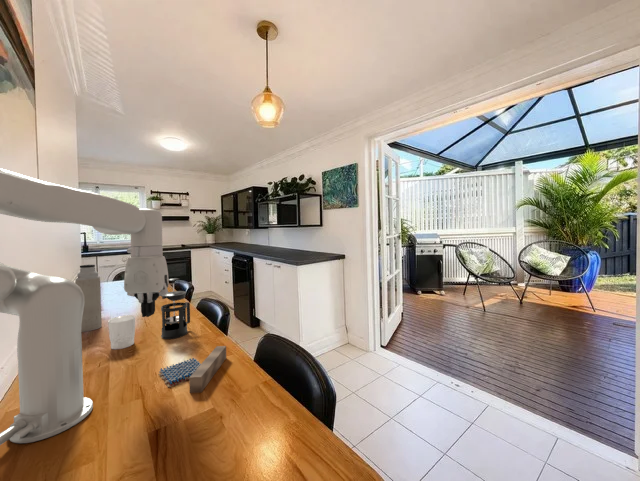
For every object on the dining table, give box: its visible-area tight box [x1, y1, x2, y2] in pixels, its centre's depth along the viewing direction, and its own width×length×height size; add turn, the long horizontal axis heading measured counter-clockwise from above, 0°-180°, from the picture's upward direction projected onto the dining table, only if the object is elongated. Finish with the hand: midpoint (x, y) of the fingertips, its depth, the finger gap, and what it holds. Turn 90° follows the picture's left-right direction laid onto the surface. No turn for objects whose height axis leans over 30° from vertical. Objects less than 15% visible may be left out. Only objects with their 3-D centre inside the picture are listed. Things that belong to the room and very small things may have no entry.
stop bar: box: [188, 345, 227, 394], centre depth 74 cm, size 18×3×4 cm, turn 1°
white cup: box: [107, 314, 136, 350], centre depth 93 cm, size 8×8×10 cm
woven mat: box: [158, 357, 202, 388], centre depth 74 cm, size 10×11×2 cm
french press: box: [160, 277, 191, 340], centre depth 103 cm, size 12×9×23 cm
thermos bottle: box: [74, 264, 103, 333], centre depth 110 cm, size 8×8×28 cm
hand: (148, 315), depth 73 cm, fingers closed
